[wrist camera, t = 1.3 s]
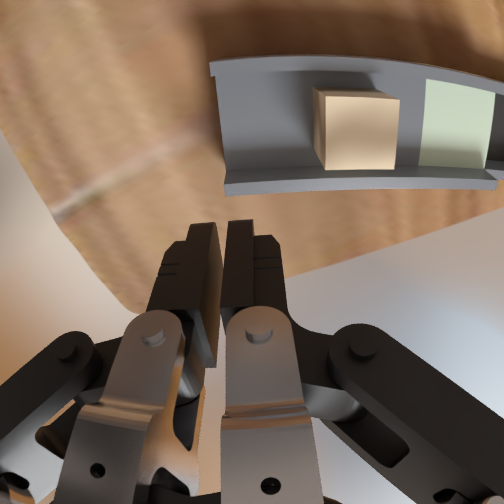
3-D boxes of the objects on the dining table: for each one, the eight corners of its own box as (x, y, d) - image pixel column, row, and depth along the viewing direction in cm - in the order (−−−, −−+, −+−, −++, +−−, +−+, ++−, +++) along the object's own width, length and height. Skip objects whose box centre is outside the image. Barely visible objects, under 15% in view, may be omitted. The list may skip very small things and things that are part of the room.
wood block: (312, 86, 21) (325, 96, 18) (375, 88, 21) (399, 99, 17) (313, 148, 24) (325, 170, 21) (373, 148, 24) (394, 169, 20)
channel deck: (217, 59, 22) (209, 62, 18) (529, 90, 21) (562, 105, 17) (229, 169, 28) (225, 196, 24) (516, 170, 27) (544, 192, 22)
